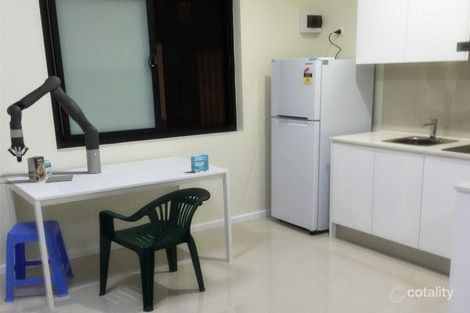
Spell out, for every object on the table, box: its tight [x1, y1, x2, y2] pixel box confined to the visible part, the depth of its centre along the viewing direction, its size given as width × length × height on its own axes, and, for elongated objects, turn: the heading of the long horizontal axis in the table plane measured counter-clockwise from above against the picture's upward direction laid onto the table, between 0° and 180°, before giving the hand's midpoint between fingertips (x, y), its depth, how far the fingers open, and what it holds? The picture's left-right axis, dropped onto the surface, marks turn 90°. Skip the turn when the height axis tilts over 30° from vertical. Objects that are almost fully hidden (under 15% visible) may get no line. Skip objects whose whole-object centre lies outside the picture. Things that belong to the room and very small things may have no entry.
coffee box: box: [26, 155, 47, 183], centre depth 291 cm, size 9×6×16 cm
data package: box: [190, 153, 210, 173], centre depth 312 cm, size 12×4×12 cm, turn 126°
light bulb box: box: [44, 159, 53, 177], centre depth 309 cm, size 11×7×11 cm, turn 74°
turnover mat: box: [45, 174, 74, 184], centre depth 296 cm, size 16×16×1 cm
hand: (19, 162), depth 288 cm, fingers closed
